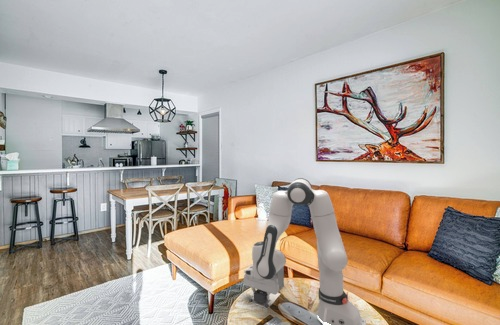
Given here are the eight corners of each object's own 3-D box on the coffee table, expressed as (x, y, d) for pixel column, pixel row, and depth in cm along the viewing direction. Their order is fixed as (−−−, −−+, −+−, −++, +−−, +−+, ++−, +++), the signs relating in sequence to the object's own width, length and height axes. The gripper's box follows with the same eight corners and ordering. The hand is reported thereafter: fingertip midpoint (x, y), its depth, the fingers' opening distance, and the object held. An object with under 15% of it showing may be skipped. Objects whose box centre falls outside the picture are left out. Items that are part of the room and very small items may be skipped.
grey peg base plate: (281, 296, 144) (280, 285, 144) (267, 311, 131) (267, 299, 130) (262, 290, 151) (262, 279, 150) (248, 304, 137) (247, 292, 137)
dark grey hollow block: (268, 298, 138) (268, 290, 138) (263, 303, 133) (263, 296, 133) (259, 295, 141) (259, 288, 141) (253, 300, 136) (253, 293, 136)
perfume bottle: (278, 293, 147) (277, 263, 146) (268, 290, 151) (267, 260, 150) (283, 288, 152) (283, 259, 151) (274, 285, 156) (273, 256, 155)
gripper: (280, 274, 133) (281, 299, 134) (248, 265, 144) (248, 289, 145) (275, 279, 128) (276, 305, 129) (241, 270, 139) (242, 294, 140)
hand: (261, 296), depth 137 cm, fingers closed on dark grey hollow block, 6 cm apart
